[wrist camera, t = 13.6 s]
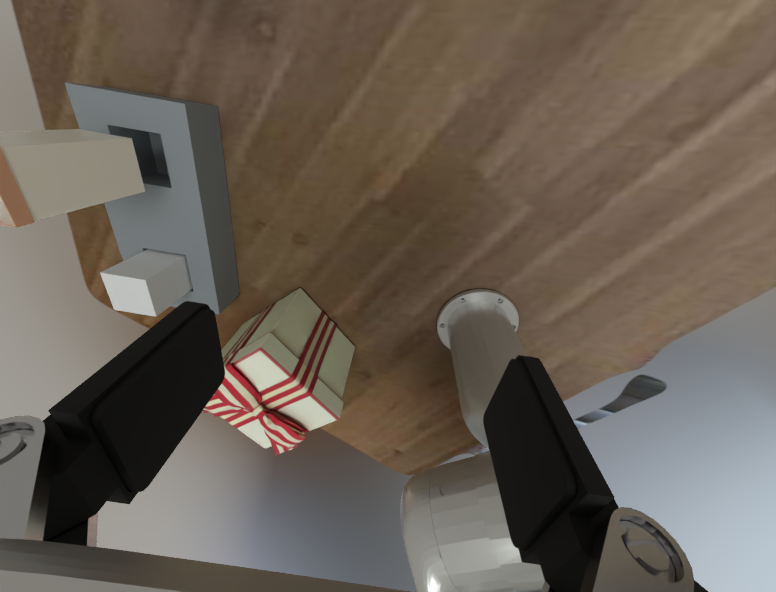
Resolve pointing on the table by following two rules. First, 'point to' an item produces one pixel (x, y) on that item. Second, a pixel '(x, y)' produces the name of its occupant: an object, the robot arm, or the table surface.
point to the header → (166, 201)
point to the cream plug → (63, 172)
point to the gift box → (283, 373)
